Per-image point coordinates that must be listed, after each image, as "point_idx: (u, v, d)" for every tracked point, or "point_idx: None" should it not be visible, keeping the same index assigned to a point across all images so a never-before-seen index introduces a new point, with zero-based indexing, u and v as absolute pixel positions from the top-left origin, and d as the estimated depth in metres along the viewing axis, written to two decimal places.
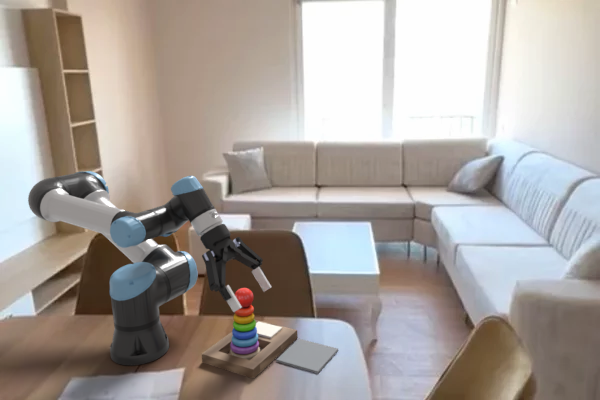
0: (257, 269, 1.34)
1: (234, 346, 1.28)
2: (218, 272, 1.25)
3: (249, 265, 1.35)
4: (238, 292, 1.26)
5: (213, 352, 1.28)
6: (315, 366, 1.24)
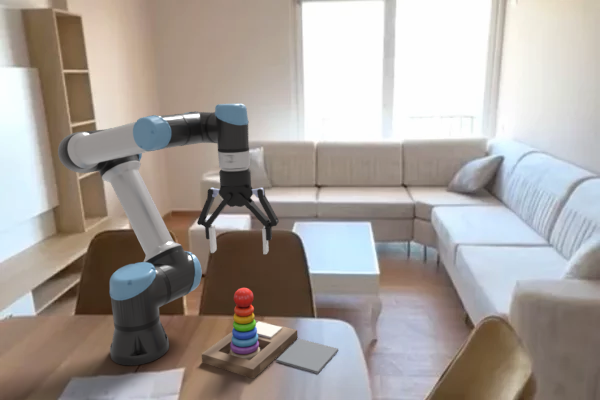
0: None
1: (234, 346, 1.28)
2: None
3: None
4: (238, 292, 1.26)
5: (213, 352, 1.28)
6: (315, 366, 1.24)
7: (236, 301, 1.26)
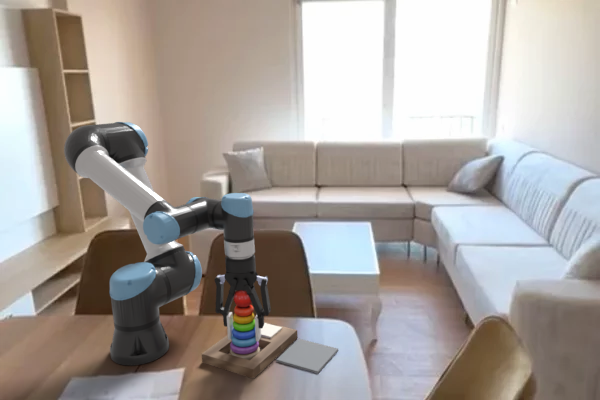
0: None
1: (234, 346, 1.28)
2: None
3: None
4: (238, 292, 1.26)
5: (213, 352, 1.28)
6: (315, 366, 1.24)
7: (236, 301, 1.26)
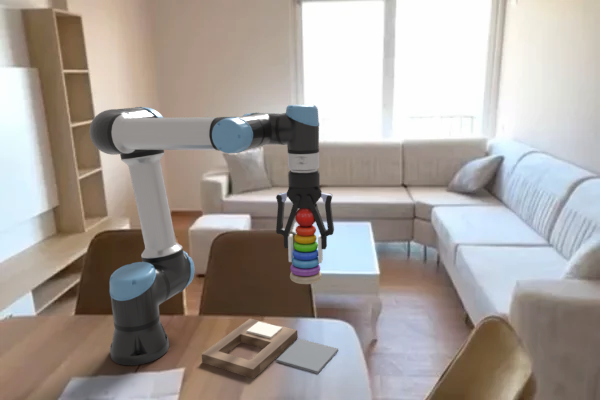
0: (318, 239, 1.21)
1: (295, 268, 1.22)
2: None
3: None
4: (301, 210, 1.20)
5: (213, 352, 1.28)
6: (315, 366, 1.24)
7: (299, 219, 1.20)
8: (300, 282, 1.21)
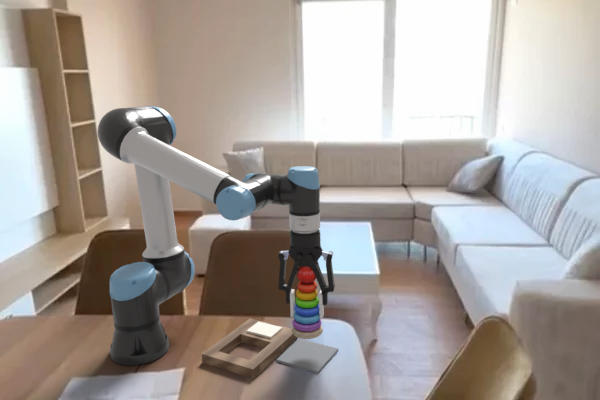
0: (319, 295, 1.24)
1: (297, 323, 1.25)
2: None
3: None
4: (302, 268, 1.23)
5: (213, 352, 1.28)
6: (315, 366, 1.24)
7: (300, 277, 1.23)
8: (302, 337, 1.25)
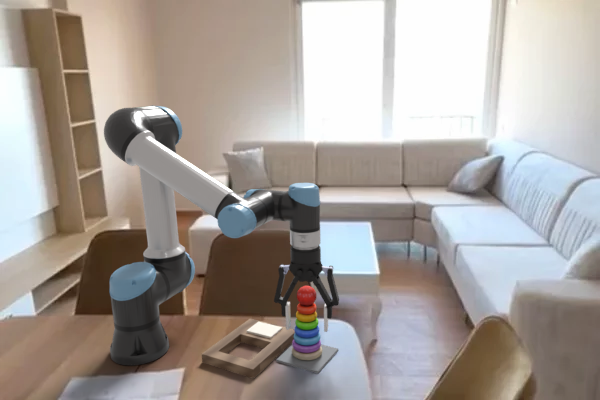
0: (324, 308, 1.25)
1: (297, 345, 1.27)
2: None
3: None
4: (302, 290, 1.25)
5: (213, 352, 1.28)
6: (315, 366, 1.24)
7: (300, 299, 1.25)
8: (301, 358, 1.26)
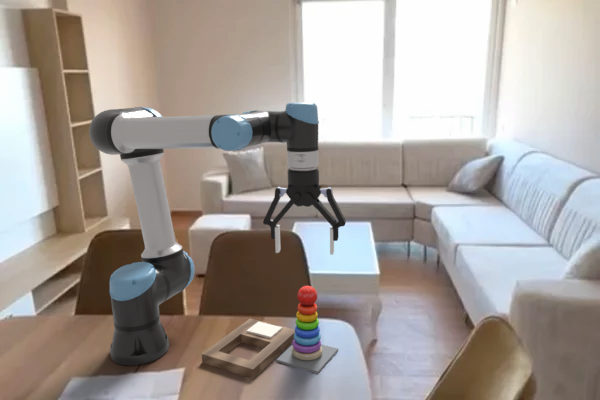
0: (330, 230, 1.20)
1: (297, 344, 1.27)
2: (281, 210, 1.22)
3: None
4: (302, 290, 1.25)
5: (213, 352, 1.28)
6: (315, 366, 1.24)
7: (300, 299, 1.25)
8: (301, 358, 1.26)
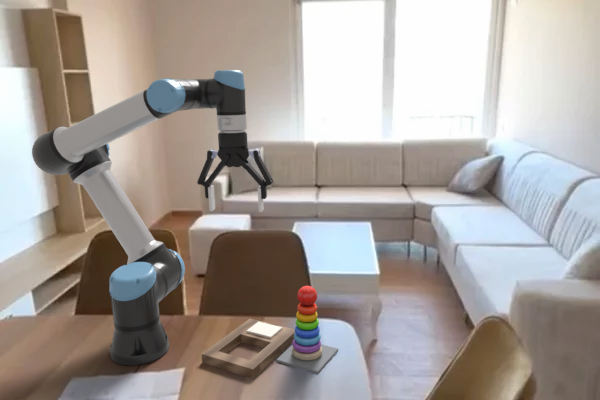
0: None
1: (297, 345, 1.27)
2: None
3: None
4: (302, 290, 1.25)
5: (213, 352, 1.28)
6: (315, 366, 1.24)
7: (300, 299, 1.25)
8: (301, 358, 1.26)
